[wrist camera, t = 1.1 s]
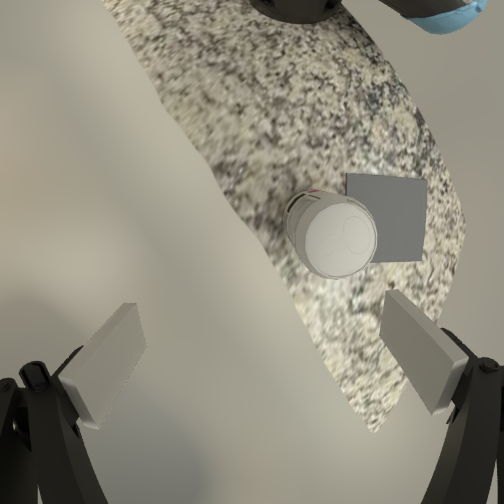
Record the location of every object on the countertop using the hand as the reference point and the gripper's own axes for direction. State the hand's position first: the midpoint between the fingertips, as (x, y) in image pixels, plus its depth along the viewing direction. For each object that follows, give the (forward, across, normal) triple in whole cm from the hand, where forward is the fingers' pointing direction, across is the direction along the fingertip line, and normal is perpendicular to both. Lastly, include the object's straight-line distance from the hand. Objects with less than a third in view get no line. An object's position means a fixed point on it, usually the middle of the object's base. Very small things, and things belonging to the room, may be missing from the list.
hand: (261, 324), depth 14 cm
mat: (+27, +19, 0) cm, 33 cm away
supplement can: (+27, +7, +1) cm, 28 cm away
